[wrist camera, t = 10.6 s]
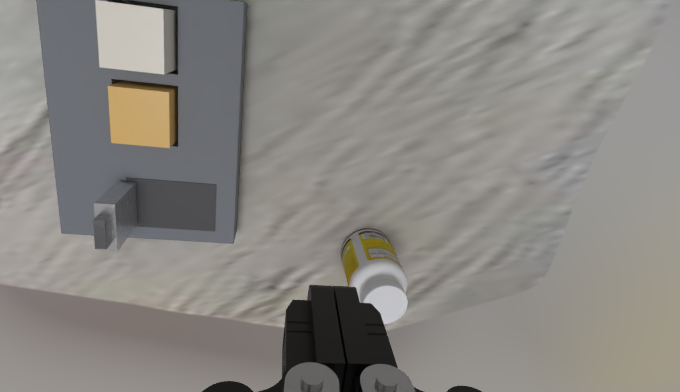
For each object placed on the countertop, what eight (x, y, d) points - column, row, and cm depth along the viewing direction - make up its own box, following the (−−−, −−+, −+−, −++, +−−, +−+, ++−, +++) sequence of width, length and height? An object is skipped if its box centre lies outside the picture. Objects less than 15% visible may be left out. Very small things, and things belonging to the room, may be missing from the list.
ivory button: (116, 2, 34) (95, 0, 30) (176, 10, 35) (163, 9, 31) (119, 62, 36) (99, 67, 32) (176, 69, 36) (164, 74, 33)
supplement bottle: (355, 281, 48) (370, 341, 39) (331, 243, 46) (342, 297, 37) (399, 258, 48) (425, 313, 39) (377, 218, 46) (399, 267, 37)
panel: (53, -24, 35) (32, -28, 32) (247, 3, 37) (244, 2, 34) (76, 219, 42) (61, 233, 39) (236, 229, 44) (233, 244, 41)
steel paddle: (117, 181, 38) (86, 209, 32) (135, 182, 38) (108, 211, 32) (119, 223, 39) (91, 257, 34) (137, 224, 40) (112, 259, 34)
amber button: (125, 79, 37) (107, 85, 34) (180, 85, 38) (169, 92, 34) (127, 131, 39) (111, 143, 35) (180, 136, 40) (169, 148, 36)
